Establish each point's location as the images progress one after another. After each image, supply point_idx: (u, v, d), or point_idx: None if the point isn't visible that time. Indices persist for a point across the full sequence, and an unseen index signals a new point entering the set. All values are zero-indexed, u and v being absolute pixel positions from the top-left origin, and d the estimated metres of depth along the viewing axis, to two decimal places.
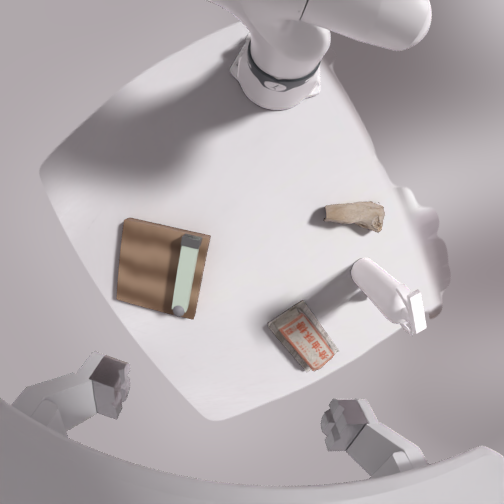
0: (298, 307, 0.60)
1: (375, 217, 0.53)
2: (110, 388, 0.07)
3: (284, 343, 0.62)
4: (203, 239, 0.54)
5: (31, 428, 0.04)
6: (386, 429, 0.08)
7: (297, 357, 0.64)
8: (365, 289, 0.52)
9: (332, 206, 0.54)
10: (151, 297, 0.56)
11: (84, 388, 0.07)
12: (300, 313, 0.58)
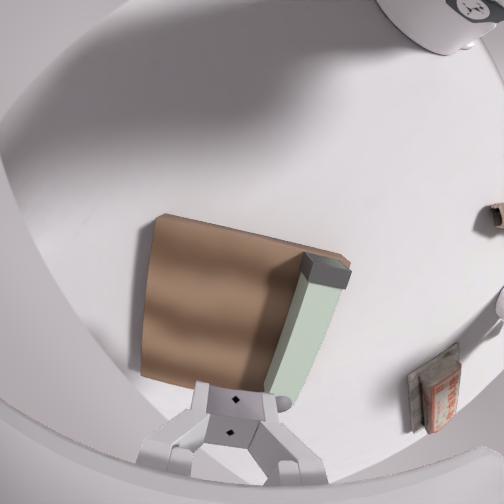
0: (451, 353, 0.32)
1: None
2: (231, 418, 0.08)
3: (414, 401, 0.33)
4: None
5: (31, 428, 0.04)
6: (287, 431, 0.08)
7: (416, 418, 0.35)
8: None
9: None
10: (215, 375, 0.28)
11: (202, 423, 0.07)
12: (458, 363, 0.29)
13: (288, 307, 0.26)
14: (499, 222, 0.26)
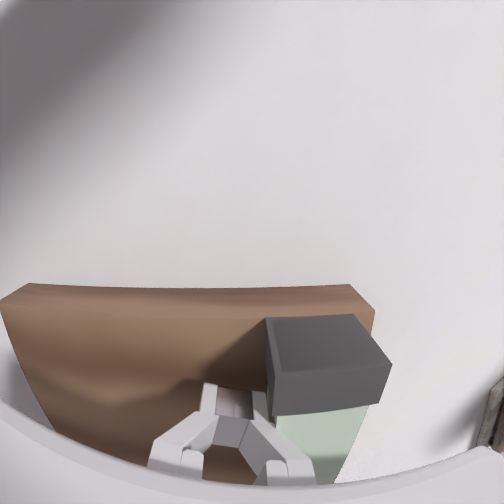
0: None
1: None
2: (240, 419, 0.08)
3: (490, 421, 0.17)
4: None
5: (31, 428, 0.04)
6: (277, 430, 0.08)
7: (486, 438, 0.18)
8: None
9: None
10: None
11: (211, 425, 0.07)
12: None
13: None
14: None
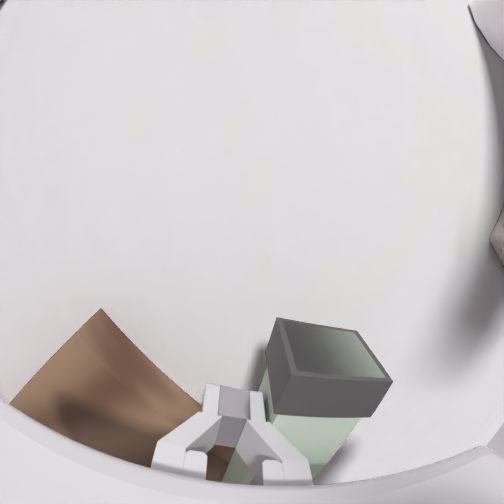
0: None
1: None
2: (242, 420, 0.08)
3: None
4: (70, 350, 0.10)
5: (31, 428, 0.04)
6: (274, 430, 0.07)
7: None
8: None
9: None
10: None
11: (215, 425, 0.07)
12: None
13: (111, 436, 0.12)
14: None
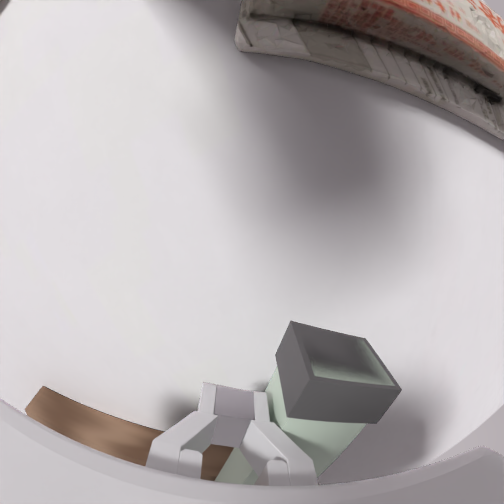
0: None
1: None
2: (239, 419, 0.08)
3: (378, 64, 0.09)
4: None
5: (31, 428, 0.04)
6: (278, 430, 0.08)
7: (463, 98, 0.10)
8: None
9: None
10: None
11: (211, 425, 0.07)
12: None
13: None
14: None
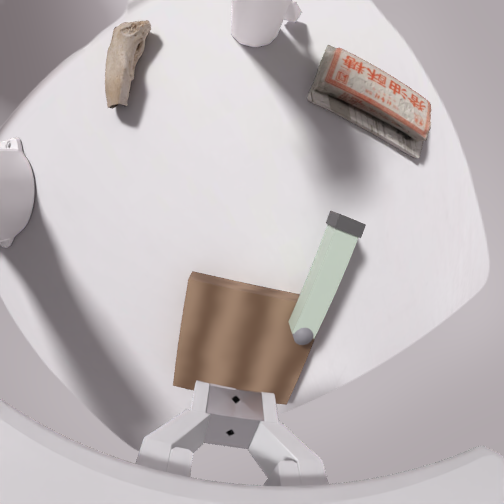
0: None
1: (122, 34, 0.24)
2: (231, 418, 0.08)
3: (354, 117, 0.31)
4: (190, 287, 0.34)
5: (31, 428, 0.04)
6: (287, 431, 0.08)
7: (388, 135, 0.32)
8: (267, 15, 0.21)
9: (106, 97, 0.28)
10: (285, 364, 0.37)
11: (202, 423, 0.07)
12: (335, 49, 0.27)
13: (225, 320, 0.35)
14: None
